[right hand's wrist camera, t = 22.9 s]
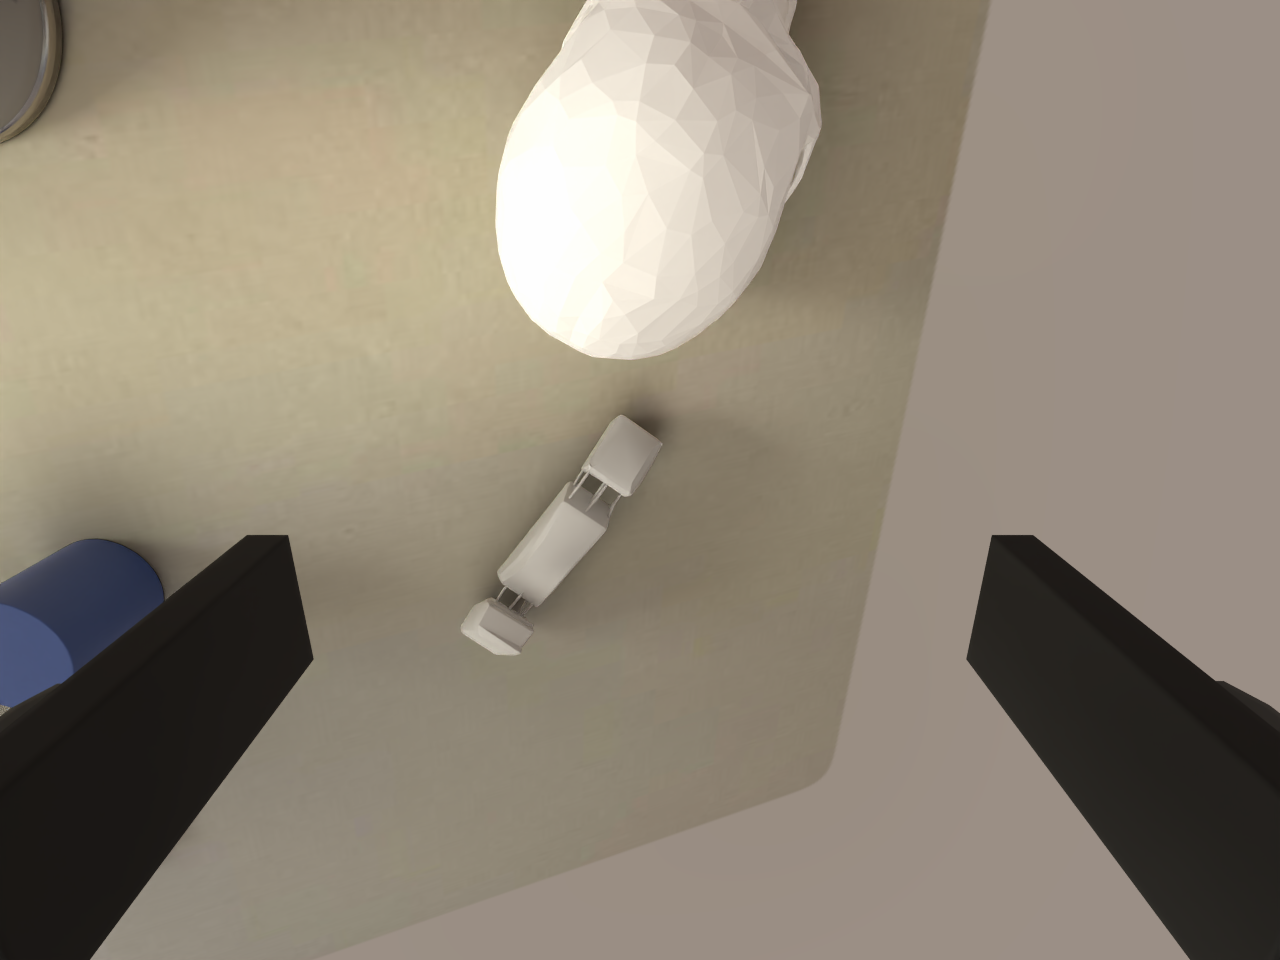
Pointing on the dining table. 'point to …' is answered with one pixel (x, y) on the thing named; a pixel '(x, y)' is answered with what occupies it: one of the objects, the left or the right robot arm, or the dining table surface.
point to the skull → (653, 169)
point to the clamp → (562, 536)
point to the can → (69, 613)
